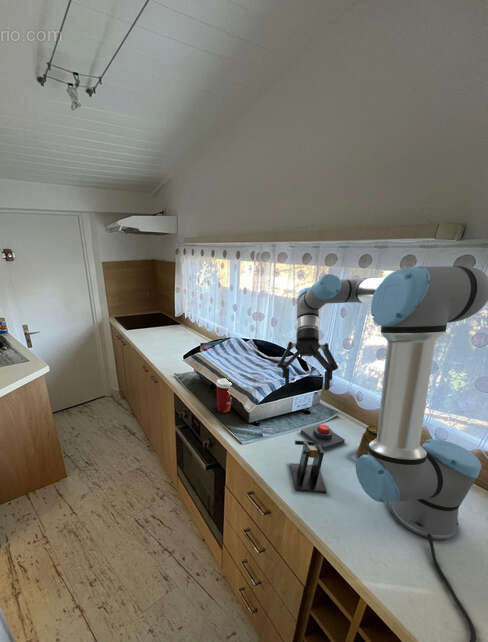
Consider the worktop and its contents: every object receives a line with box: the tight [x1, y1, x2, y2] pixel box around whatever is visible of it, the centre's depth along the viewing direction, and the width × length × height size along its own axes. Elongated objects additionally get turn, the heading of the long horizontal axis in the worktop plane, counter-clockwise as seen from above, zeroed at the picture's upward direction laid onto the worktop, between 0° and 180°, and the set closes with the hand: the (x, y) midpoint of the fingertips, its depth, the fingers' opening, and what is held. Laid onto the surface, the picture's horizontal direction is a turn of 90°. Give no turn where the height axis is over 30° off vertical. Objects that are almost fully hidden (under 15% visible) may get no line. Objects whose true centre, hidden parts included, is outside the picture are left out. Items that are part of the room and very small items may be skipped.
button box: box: [300, 423, 346, 451], centre depth 116 cm, size 12×10×4 cm
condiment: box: [355, 425, 378, 458], centre depth 104 cm, size 7×8×12 cm
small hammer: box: [294, 439, 318, 459], centre depth 97 cm, size 12×6×2 cm, turn 173°
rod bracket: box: [289, 443, 327, 494], centre depth 95 cm, size 12×9×13 cm
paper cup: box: [215, 377, 233, 414], centre depth 134 cm, size 8×8×14 cm
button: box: [318, 423, 330, 434], centre depth 115 cm, size 4×4×2 cm
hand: (306, 388), depth 106 cm, fingers open, 13 cm apart
